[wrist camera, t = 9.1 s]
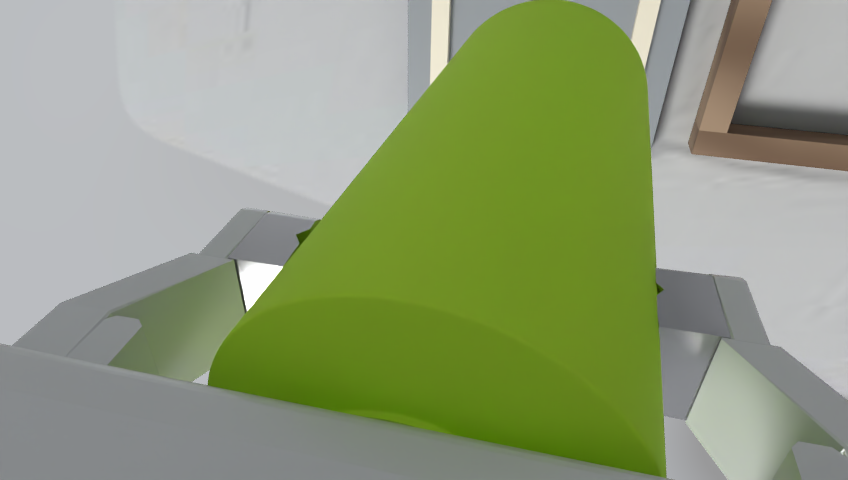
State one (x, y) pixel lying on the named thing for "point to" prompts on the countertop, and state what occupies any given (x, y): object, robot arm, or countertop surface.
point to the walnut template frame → (722, 97)
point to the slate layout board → (475, 3)
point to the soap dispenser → (487, 258)
